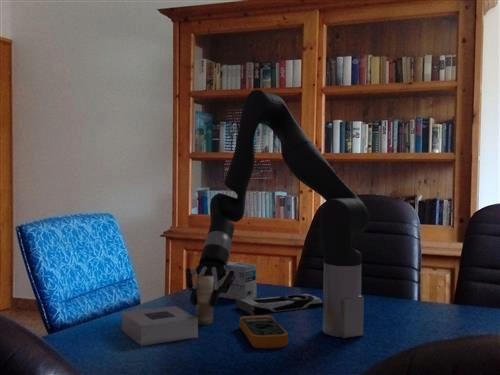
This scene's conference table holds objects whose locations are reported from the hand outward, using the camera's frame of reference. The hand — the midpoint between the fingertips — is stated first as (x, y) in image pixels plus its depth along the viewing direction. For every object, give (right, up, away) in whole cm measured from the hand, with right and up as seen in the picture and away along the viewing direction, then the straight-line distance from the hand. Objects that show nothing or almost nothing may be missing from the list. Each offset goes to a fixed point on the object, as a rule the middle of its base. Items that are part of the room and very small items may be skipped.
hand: (202, 304), depth 141 cm
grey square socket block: (-10, -5, -8) cm, 14 cm away
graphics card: (+21, -6, +19) cm, 29 cm away
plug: (0, -5, +2) cm, 6 cm away
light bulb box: (+8, -5, +32) cm, 34 cm away
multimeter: (+15, -6, -10) cm, 19 cm away
